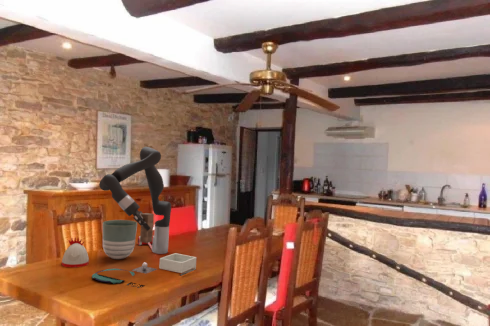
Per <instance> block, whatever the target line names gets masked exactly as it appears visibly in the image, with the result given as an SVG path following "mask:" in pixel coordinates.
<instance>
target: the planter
mask: <svg viewBox="0 0 490 326" xmlns="http://www.w3.org/2000/svg"><path fill="white" fill-rule="evenodd" d="M137 228H138V222H137V221H136V220H129V219H112V220H111V219H110V220H105V221H103V222H102V248H103V251H104V253H105V255H107V256H108V258H109V259H110V258H111V259H112V260H123V259H125V258H127V257H129V256H130V255H131V254H132V253H133V251H134V248H135V245H136V238H137V230H138V229H137Z"/></svg>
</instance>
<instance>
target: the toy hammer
mask: <svg viewBox="0 0 490 326" xmlns="http://www.w3.org/2000/svg"><path fill="white" fill-rule="evenodd" d="M153 237H154V235H152V242H149V243H144V242H140V235H139V236H138V237H137V245H138V246H142V245H144V246H145V245H148V246H149V248H150V249H151V250H152V243H153Z"/></svg>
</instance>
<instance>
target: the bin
mask: <svg viewBox="0 0 490 326" xmlns="http://www.w3.org/2000/svg"><path fill="white" fill-rule="evenodd" d="M158 267H159V269H161V270H166V271H169V272H175V273H178V274H179V273H180V274H179V276H180V277H182V276H184V275H186V274H189V273H191V272H194V271H195V270H196V268H197V256H192V255H191V256H190V255H187V254H181V253H177V252H175V253H172V254H169V255H166V256H163V257H160V258H159V266H158Z"/></svg>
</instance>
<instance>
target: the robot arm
mask: <svg viewBox="0 0 490 326" xmlns="http://www.w3.org/2000/svg"><path fill="white" fill-rule="evenodd" d="M139 152H140V153H139V159H140V160H138V161H134V162H130V163H129V162H128V163H127V164H126V163H125V164H124V165H122V166H121V167H119V168H117V169H115V170H114V171H113V172H112V173H111V174H110V173H107V174H105V175H103V177H102V178H101V179H100V181H99V184H98V185H99V188H100V189H101V190H102V191H105V192H106V191H110V193H111V198H112V199H113V200H114V201H115V202H116V204H118V206H119V207H120V208H121V210H123V212H124V213H125V214H126V215H127V216H129V217H130V216H133V220H134V221H135V222H137V224H139V226H141V225H142V226H143V227H144V228H145V229H146V230H147V231H148V230H149V229H150V227H149V225H148V224H147V223H146V222H145V221H144V218H143V216H142V214H144V213H143V212H142V211H141V210H139V209H140V207H141V206H140V204H138V203H137V202H136V201H135V200H134V198H133V197H131V196H130V195H129V194H128V192H127V191H125V190H124V189H123V187H122V185H121V182H123V181H125V180H127V179H128V178H130V177H131V176H133V175H135V174H137V173H139V172H141V171H143V170H144V174H145V177H146V181H147V187H148V190H149V192H150V199H151V205H152V210H153V214H154V215H156V216H162V217H163V218H161V219H158V220H155V221H154V231H153V232H154V234H153V236H154V237H153V243H152V244H151V246H152V249H151V252H152V253H154V254H157V255H165V254H167V253H169V251H168V250H169V239H170V238H169V236H170V235H169V234H170V222H171V213H172V204H171V202H170V201H166V200H165V201H164V200H160V198H159V197H160V195H161V194H162V193H163V191H164V188H165V186H164V184H165V183H164V180H163V177H162V175H161V173H160V172H159V170H158V169H157V167H156V165H157V164H158V163H159V162H160V161H161V158H162V154H161V152H160V151H159V150H157V149H154V148H153V147H150V146H144V147H142V148H141V149H140V151H139Z"/></svg>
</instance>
